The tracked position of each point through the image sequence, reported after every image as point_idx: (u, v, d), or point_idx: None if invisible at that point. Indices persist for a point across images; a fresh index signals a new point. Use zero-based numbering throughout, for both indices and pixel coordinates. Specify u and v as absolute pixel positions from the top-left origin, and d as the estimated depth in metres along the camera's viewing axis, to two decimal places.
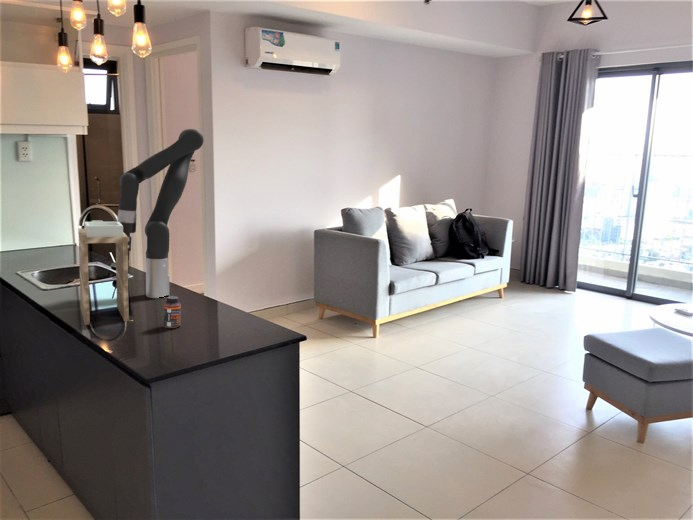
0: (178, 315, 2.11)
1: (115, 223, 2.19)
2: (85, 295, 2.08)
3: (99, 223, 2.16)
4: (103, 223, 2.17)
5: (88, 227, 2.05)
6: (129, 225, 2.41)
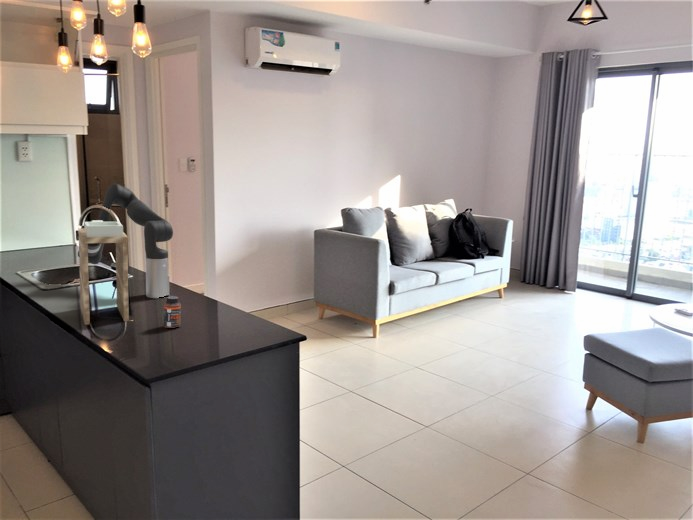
0: (178, 315, 2.11)
1: (115, 223, 2.19)
2: (85, 295, 2.08)
3: (99, 223, 2.16)
4: (103, 223, 2.17)
5: (88, 227, 2.05)
6: None
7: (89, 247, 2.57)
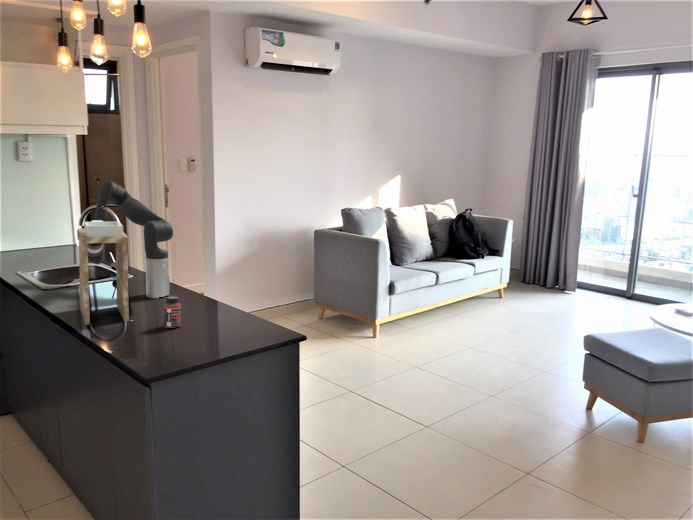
0: (178, 315, 2.11)
1: (115, 223, 2.19)
2: (85, 295, 2.08)
3: (99, 223, 2.16)
4: (103, 223, 2.17)
5: (88, 227, 2.05)
6: None
7: (91, 247, 2.47)
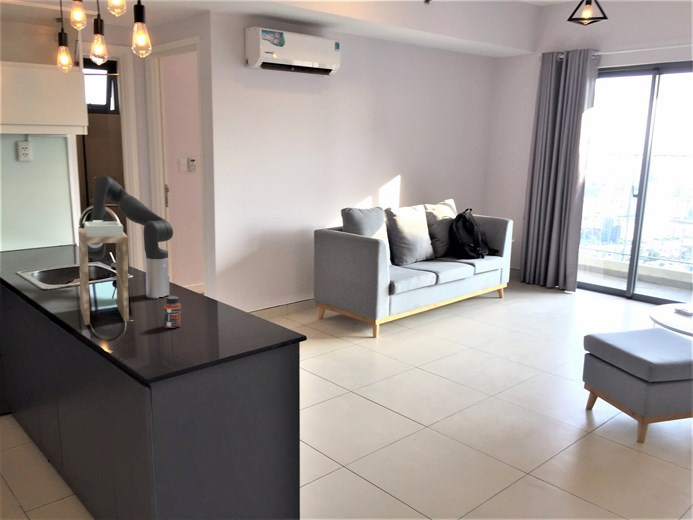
0: (178, 315, 2.11)
1: (115, 223, 2.19)
2: (85, 295, 2.08)
3: (99, 223, 2.16)
4: (103, 223, 2.17)
5: (88, 227, 2.05)
6: None
7: None
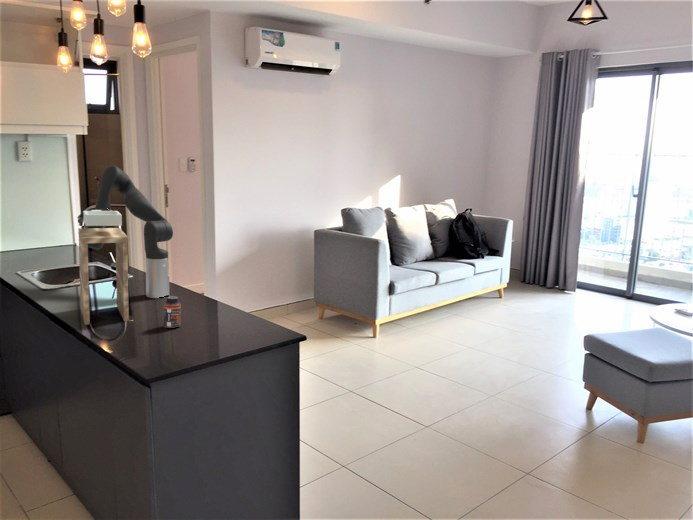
0: (178, 315, 2.11)
1: (114, 212, 2.21)
2: (85, 295, 2.08)
3: (98, 212, 2.19)
4: (102, 212, 2.19)
5: (87, 216, 2.07)
6: None
7: None
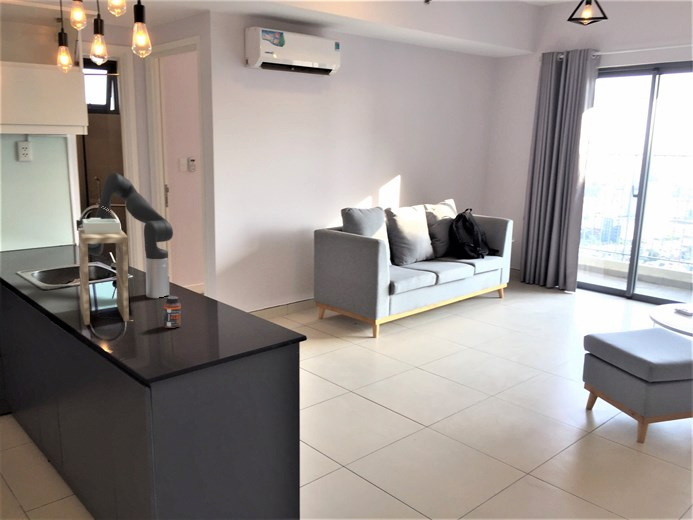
0: (178, 315, 2.11)
1: (112, 220, 2.26)
2: (85, 295, 2.08)
3: (97, 220, 2.23)
4: (101, 220, 2.24)
5: (86, 224, 2.11)
6: None
7: None
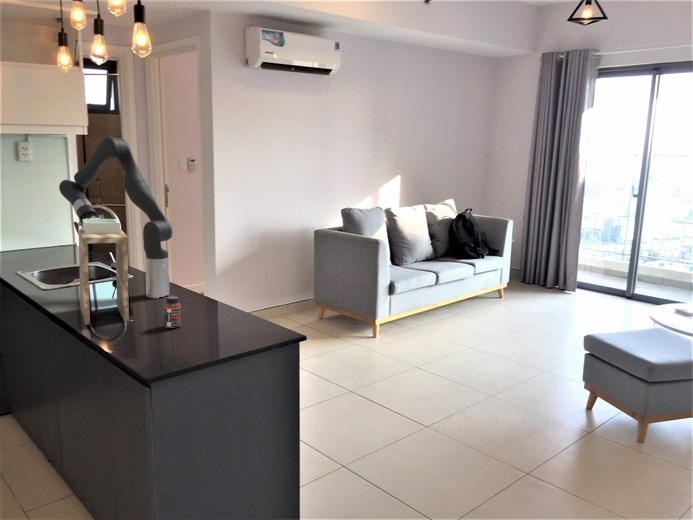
0: (178, 315, 2.11)
1: (112, 220, 2.26)
2: (85, 295, 2.08)
3: (97, 220, 2.23)
4: (101, 220, 2.24)
5: (86, 224, 2.11)
6: (77, 214, 2.55)
7: None
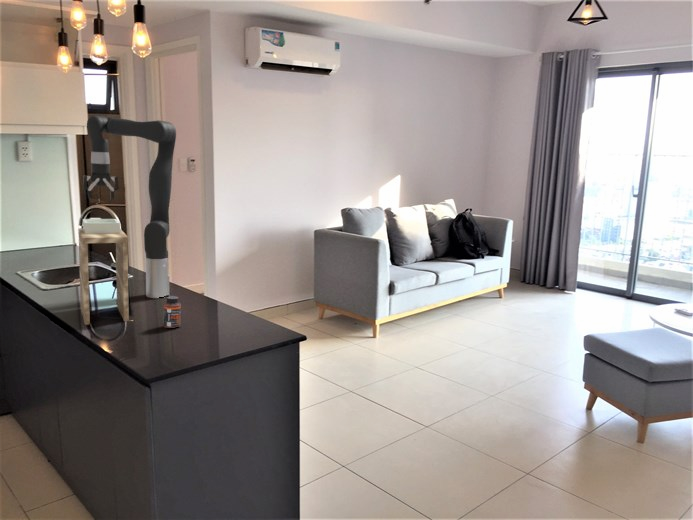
0: (178, 315, 2.11)
1: (112, 220, 2.26)
2: (85, 295, 2.08)
3: (97, 220, 2.23)
4: (101, 220, 2.24)
5: (86, 224, 2.11)
6: (91, 165, 2.52)
7: None
